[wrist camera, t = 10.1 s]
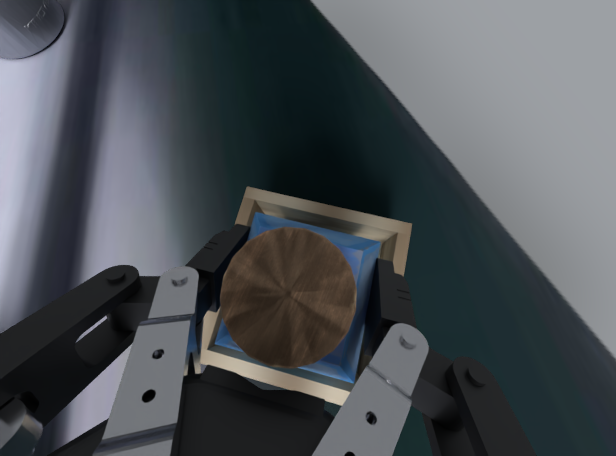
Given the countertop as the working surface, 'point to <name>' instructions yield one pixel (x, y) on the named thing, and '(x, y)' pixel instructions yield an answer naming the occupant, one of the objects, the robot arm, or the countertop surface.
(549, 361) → the countertop surface
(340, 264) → the perfume bottle
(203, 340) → the birch box
